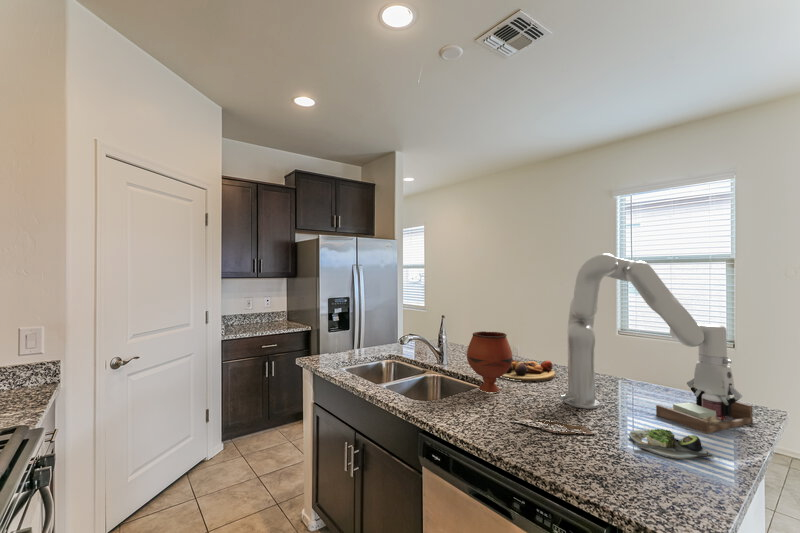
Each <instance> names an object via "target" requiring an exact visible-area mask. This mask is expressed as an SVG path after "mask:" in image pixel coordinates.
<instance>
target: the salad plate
mask: <svg viewBox="0 0 800 533" xmlns="http://www.w3.org/2000/svg"><path fill="white" fill-rule="evenodd" d="M628 436H629V438H630V439H631V440H632V441H633V442H634V446H635V447H638V448H641V449H644V450H646V451H647V452H650V453H652V454H653V453H654V454H656V455H659V456H663V457H667V458H670V459H675V460H676V459H677V460H681V459H682V460H685V459H687V460H688V459H689V460H690V459H694V460H695V459H704V458H712V457H714V455H713V454H712V453H709V452H708V451H707V450H705V449H704V447H703V446H702V441H701V440H700V438H699V436H697V435H695V434H691V435H687V436H684V437H683V438H681V439H678V438H675V434H673V432H672V430H670V429H669V430H668V429H664V428H655V429H653V428H652V429H651V428H650V429H644V430H641V429H640V430H639V429H636V430H635V429H634V430H631V431H629V434H628ZM643 439H646V440H647V443H646V442H645V441H643Z"/></svg>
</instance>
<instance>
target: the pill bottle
mask: <svg viewBox="0 0 800 533" xmlns="http://www.w3.org/2000/svg"><path fill="white" fill-rule="evenodd" d="M722 404H724V402H723V400H722V398H721V396H719V395H715V394H713V393H712V391H711V390H708V389H707V390H706V391H705V393H704V394H702V407H705V408H708V409H711V410H713V411H716V419H718V420H721V421H725V420H726V417H725V416H723V415H722Z"/></svg>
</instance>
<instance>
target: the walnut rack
mask: <svg viewBox="0 0 800 533" xmlns="http://www.w3.org/2000/svg"><path fill="white" fill-rule="evenodd" d="M693 404H696V403H693ZM696 405H697V404H696ZM672 408H673V407H670V408H669V407H667V406H663V405H662V404H661V405H660V404H656V405H655V409H656V410H655V412H656V414H655V415H656V417H657V416H658V417H660V418H663V419H665V420H668V421H671V422H672V423H673V422H674V423H677V424H679V425H682V426H685V427H688V428H691V429H693V430H696V431H697V432H698V431H699V432H701V433H704V434H712V433H716V432H720V431H724V430H727V429H731V428H735V427H740V426H744V425H748V424H753V423H754V422H753V419H754V418H753V417H754V416H753V405H750V404H747V403H744V402H739V401H736V402H735V403H733V404H731V414H730V416H728V417H730V418H733V420H732V419H731V420H727V421H724V422H721V423H718V424H714V425H710V422H709V421H706V420H703V419H700V418H697V417H694V416H691V415H688V414H685V413H682V412H679V411H676V410H673V409H672Z"/></svg>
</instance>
